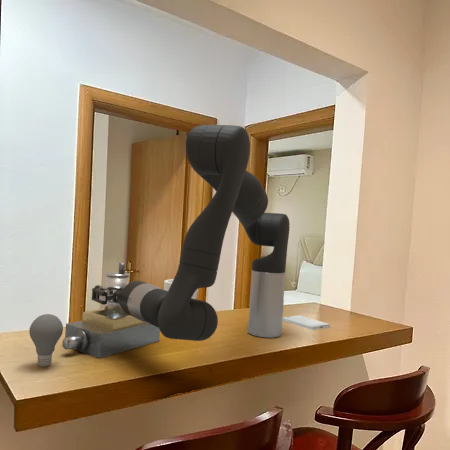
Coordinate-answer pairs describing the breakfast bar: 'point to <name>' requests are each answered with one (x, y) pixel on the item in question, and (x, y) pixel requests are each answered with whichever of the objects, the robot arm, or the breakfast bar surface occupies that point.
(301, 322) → the hard drive
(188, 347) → the breakfast bar surface
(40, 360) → the light bulb
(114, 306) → the spout can
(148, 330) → the gearbox
